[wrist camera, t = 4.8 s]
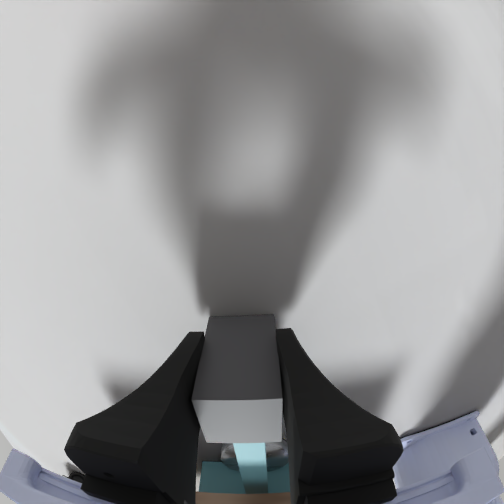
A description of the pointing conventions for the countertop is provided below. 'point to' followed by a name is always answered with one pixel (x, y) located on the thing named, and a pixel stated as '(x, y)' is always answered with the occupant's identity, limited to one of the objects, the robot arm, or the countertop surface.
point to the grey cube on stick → (240, 403)
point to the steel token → (274, 455)
